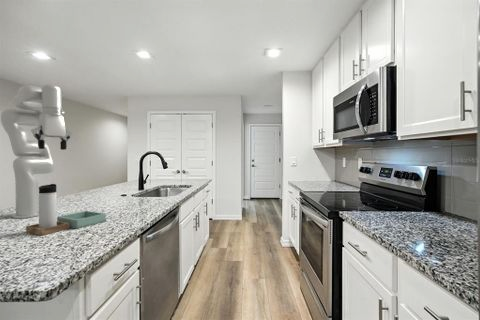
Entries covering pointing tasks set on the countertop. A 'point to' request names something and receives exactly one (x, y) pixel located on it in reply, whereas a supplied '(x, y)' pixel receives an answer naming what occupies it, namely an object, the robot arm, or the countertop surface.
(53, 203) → the travel mug
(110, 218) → the countertop surface
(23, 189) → the robot arm
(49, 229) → the brown wooden tray
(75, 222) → the tray
